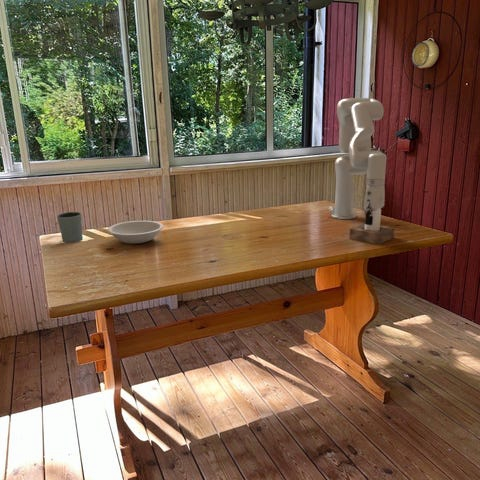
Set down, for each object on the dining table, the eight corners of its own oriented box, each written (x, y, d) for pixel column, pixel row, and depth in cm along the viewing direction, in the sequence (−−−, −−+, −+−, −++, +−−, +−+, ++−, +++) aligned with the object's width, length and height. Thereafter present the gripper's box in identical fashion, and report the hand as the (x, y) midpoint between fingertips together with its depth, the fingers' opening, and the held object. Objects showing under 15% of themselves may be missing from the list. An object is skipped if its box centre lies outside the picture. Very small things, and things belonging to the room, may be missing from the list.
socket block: (349, 238, 199) (349, 228, 197) (364, 231, 208) (365, 222, 207) (378, 244, 189) (379, 234, 188) (393, 237, 199) (394, 227, 198)
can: (377, 231, 201) (379, 204, 198) (380, 235, 195) (382, 208, 192) (363, 230, 202) (364, 204, 198) (365, 234, 196) (367, 208, 192)
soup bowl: (142, 252, 184) (141, 237, 182) (97, 246, 194) (95, 231, 192) (174, 237, 205) (173, 223, 203) (132, 232, 215) (130, 218, 213)
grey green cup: (85, 236, 208) (82, 211, 205) (83, 242, 199) (79, 216, 195) (62, 238, 206) (59, 212, 203) (58, 244, 197) (55, 217, 193)
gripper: (374, 186, 183) (370, 228, 189) (392, 180, 196) (389, 220, 201) (357, 184, 188) (354, 225, 194) (376, 179, 200) (373, 217, 206)
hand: (372, 222), depth 197 cm, fingers closed on can, 6 cm apart
